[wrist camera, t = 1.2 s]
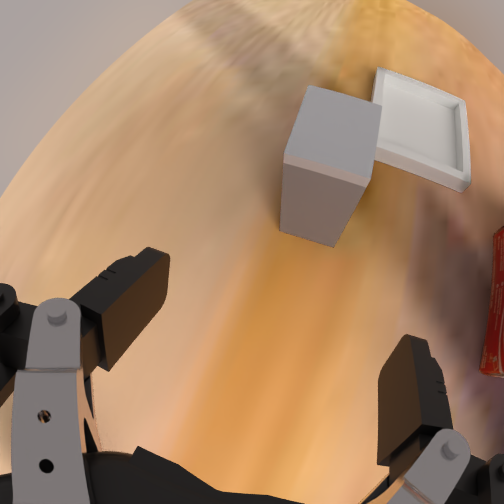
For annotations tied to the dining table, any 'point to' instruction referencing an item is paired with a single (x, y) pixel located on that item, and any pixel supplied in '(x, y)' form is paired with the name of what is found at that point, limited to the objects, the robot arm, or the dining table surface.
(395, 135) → the tray
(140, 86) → the dining table surface
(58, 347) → the robot arm
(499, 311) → the medicine box
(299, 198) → the tall grey carton
